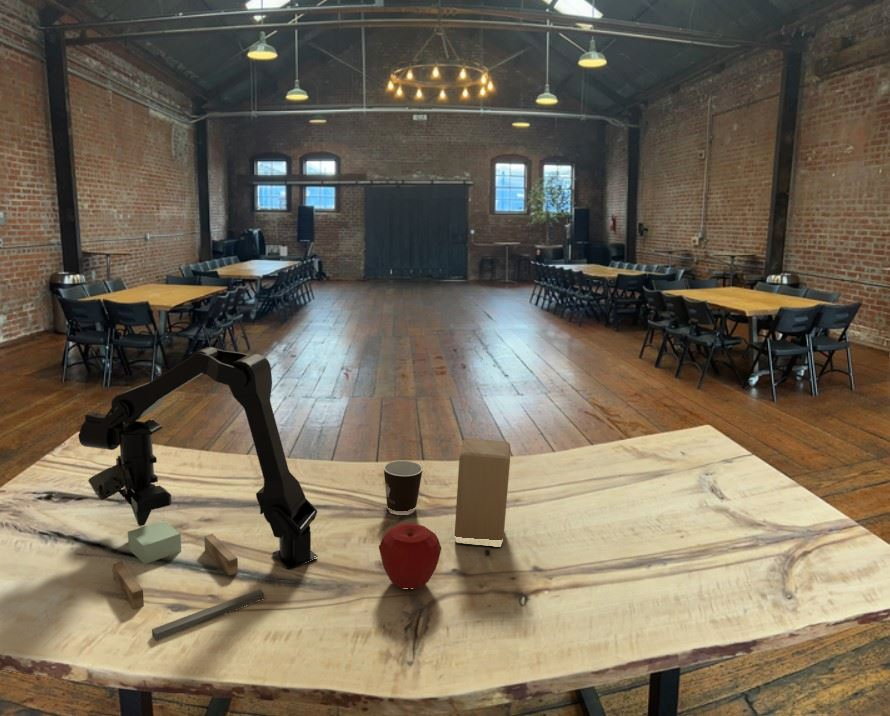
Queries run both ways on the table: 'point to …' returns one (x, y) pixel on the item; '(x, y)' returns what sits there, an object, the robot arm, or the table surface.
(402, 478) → the coffee mug
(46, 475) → the table surface
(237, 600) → the set of wooden bars
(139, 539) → the sage block
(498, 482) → the wooden block
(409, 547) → the apple
